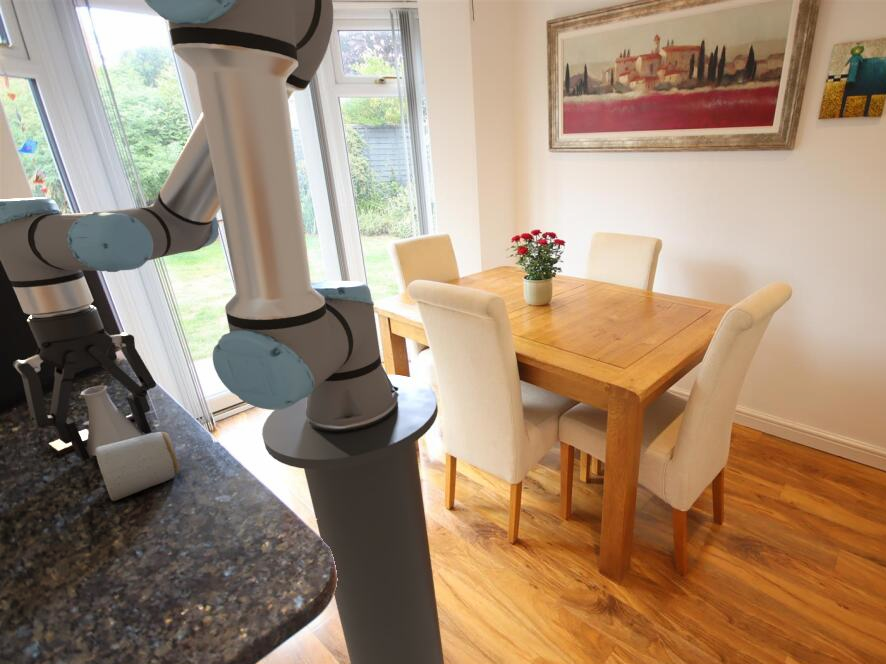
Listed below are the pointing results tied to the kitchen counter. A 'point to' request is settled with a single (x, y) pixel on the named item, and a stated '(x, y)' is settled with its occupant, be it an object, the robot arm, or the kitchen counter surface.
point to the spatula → (63, 448)
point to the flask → (106, 420)
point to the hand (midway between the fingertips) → (115, 443)
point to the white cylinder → (137, 464)
